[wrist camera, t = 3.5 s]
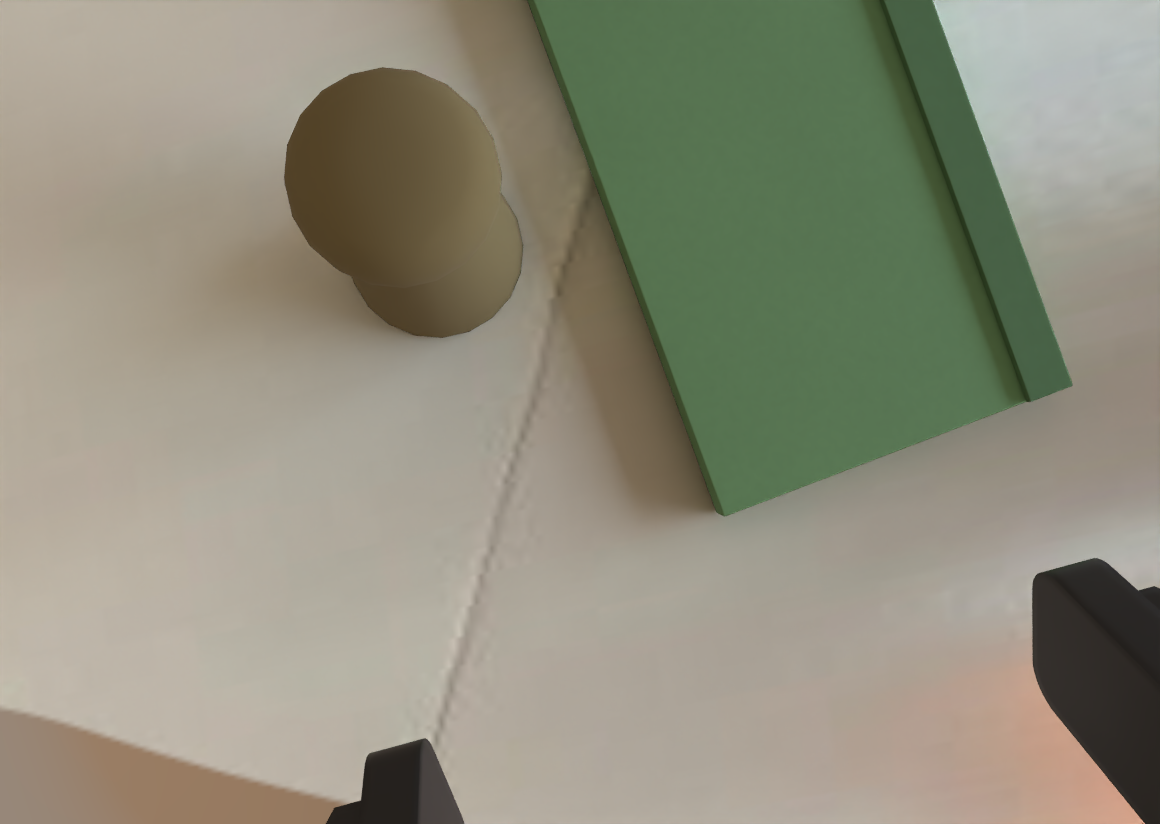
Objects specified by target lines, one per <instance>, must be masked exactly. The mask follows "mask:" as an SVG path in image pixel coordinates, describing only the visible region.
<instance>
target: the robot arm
mask: <svg viewBox="0 0 1160 824" xmlns="http://www.w3.org/2000/svg"><path fill="white" fill-rule="evenodd" d="M1032 624H1033V667H1034V672H1035V676H1036V679H1037V682H1038V684H1039V687H1040V689H1041V691H1042V693H1043V695H1044V697H1045V699H1046V701H1047V703H1048V704H1049V706H1050V707H1051V709H1052V710H1053V711H1054V713H1055V714H1056V715H1057V716H1058V717H1059V719H1060V720H1061V721H1062V722H1063V724H1064V725H1065V726H1066V727H1067V729H1068V730H1069V731H1070V732H1071V733H1072V735H1073V736H1074V737H1075V738H1076V740H1077V741H1078V742H1079V743H1080V744H1081V746H1082V747H1083V748H1084V749H1085V751H1086V752H1087V753H1088V754H1089V755H1090V757H1091V758H1092V759H1093V760H1094V762H1095V763H1096V764H1097V765H1098V767H1099V768H1100V769H1101V770H1102V771H1103V773H1104V774H1105V775H1106V776H1107V778H1108V779H1109V780H1110V781H1111V782H1112V784H1113V785H1114V786H1115V787H1116V789H1117V790H1118V791H1119V792H1120V794H1121V795H1122V796H1123V797H1124V798H1125V800H1126V801H1127V802H1128V803H1129V805H1130V806H1131V807H1132V808H1133V809H1134V811H1135V812H1136V813H1137V814H1138V816H1139V817H1140V818H1141V819H1142V820H1143V822H1144V823H1145V824H1160V588H1157V587H1155V586H1153V587H1150V588H1146V589H1142V590H1139V591H1138V590H1137V589H1136V588H1135V587H1133V586H1132V585H1131V584H1130V583H1129V582H1128V581H1127V580H1126V579H1125V578H1123V577H1122V576H1121V575H1120V574H1119V573H1118V572H1117V571H1116V570H1115V569H1113V568H1112V567H1111V566H1110V565H1109V564H1108V563H1106V562H1105V561H1103V560H1101V559H1097V558H1093V559H1089V560H1086V561H1082V562H1078V563H1075V564H1071V565H1067V566H1064V567H1060V568H1056V569H1053V570H1049V571H1045V572H1042V573H1038V574H1037V575H1036V576H1035V578H1034V580H1033V587H1032ZM326 824H464V821H463V818H462V815H461V813H460V811H459V808H458V806H457V804H456V801H455V799H454V796H453V794H452V792H451V789H450V787H449V785H448V782H447V780H446V778H445V775H444V773H443V771H442V768H441V766H440V764H439V761H438V759H437V757H436V754H435V752H434V750H433V748H432V745H431V744H430V742H429V741H428V740H427V739H426V738H425V739H421V740H417V741H413V742H410V743H406V744H402V745H399V746H395V747H391V748H388V749H384V750H380V751H377V752H373V753H370V754H369V755H368V756H367V758H366V762H365V769H364V778H363V788H362V797H361V801H358V802H354V803H350V804H347V805H343V806H339V807H336V808H334V810H333V812H332V813H331V815H330V817H329V819H328V821H327V823H326Z"/></svg>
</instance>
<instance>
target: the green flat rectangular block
mask: <svg viewBox="0 0 1160 824" xmlns="http://www.w3.org/2000/svg"><path fill="white" fill-rule="evenodd" d="M527 1H528V3H529V6H530V9H531V11H532V14H533V17H534V20H535V22H536V25H537V28H538V30H539V33H540V36H541V38H542V41H543V44H544V47H545V49H546V52H547V55H548V57H549V60H550V63H551V66H552V68H553V71H554V74H555V76H556V79H557V82H558V84H559V87H560V90H561V93H562V95H563V98H564V101H565V103H566V106H567V109H568V111H569V114H570V117H571V120H572V122H573V125H574V128H575V130H576V133H577V136H578V139H579V141H580V144H581V147H582V149H583V152H584V155H585V157H586V160H587V163H588V166H589V168H590V171H591V174H592V176H593V179H594V182H595V185H596V187H597V190H598V193H599V195H600V198H601V201H602V203H603V206H604V209H605V212H606V214H607V217H608V220H609V222H610V225H611V228H612V231H613V233H614V236H615V239H616V241H617V244H618V247H619V249H620V252H621V255H622V258H623V260H624V263H625V266H626V268H627V271H628V274H629V277H630V279H631V282H632V285H633V287H634V290H635V293H636V295H637V298H638V301H639V304H640V306H641V309H642V312H643V314H644V317H645V320H646V323H647V325H648V328H649V331H650V333H651V336H652V339H653V341H654V344H655V347H656V350H657V352H658V355H659V358H660V360H661V363H662V366H663V369H664V371H665V374H666V377H667V379H668V382H669V385H670V387H671V390H672V393H673V396H674V398H675V401H676V404H677V406H678V409H679V412H680V415H681V417H682V420H683V423H684V425H685V428H686V431H687V433H688V436H689V439H690V442H691V444H692V447H693V450H694V452H695V455H696V458H697V460H698V463H699V466H700V469H701V471H702V474H703V477H704V479H705V482H706V485H707V488H708V490H709V493H710V496H711V498H712V501H713V504H714V506H715V509H716V512H717V513H718V514H720V515H722V516H727V515H730V514H733V513H735V512H738V511H740V510H743V509H746V508H748V507H751V506H754V505H756V504H759V503H761V502H764V501H767V500H769V499H772V498H775V497H777V496H780V495H782V494H785V493H788V492H790V491H793V490H796V489H798V488H801V487H803V486H806V485H809V484H811V483H814V482H817V481H819V480H822V479H824V478H827V477H830V476H832V475H835V474H838V473H840V472H843V471H845V470H848V469H851V468H853V467H856V466H859V465H861V464H864V463H866V462H869V461H872V460H874V459H877V458H880V457H882V456H885V455H887V454H890V453H893V452H895V451H898V450H901V449H903V448H906V447H908V446H911V445H914V444H916V443H919V442H922V441H924V440H927V439H929V438H932V437H935V436H937V435H940V434H943V433H945V432H948V431H950V430H953V429H956V428H958V427H961V426H964V425H966V424H969V423H972V422H974V421H977V420H979V419H982V418H985V417H987V416H990V415H993V414H995V413H998V412H1000V411H1003V410H1006V409H1008V408H1011V407H1014V406H1016V405H1019V404H1021V403H1024V402H1031V401H1034V400H1037V399H1039V398H1042V397H1044V396H1047V395H1050V394H1052V393H1055V392H1058V391H1060V390H1063V389H1065V388H1068V387H1071V386H1072V381H1071V378H1070V376H1069V373H1068V370H1067V367H1066V365H1065V362H1064V359H1063V356H1062V354H1061V351H1060V348H1059V346H1058V343H1057V340H1056V337H1055V335H1054V332H1053V329H1052V326H1051V324H1050V321H1049V318H1048V315H1047V313H1046V310H1045V307H1044V304H1043V302H1042V299H1041V296H1040V294H1039V291H1038V288H1037V285H1036V283H1035V280H1034V277H1033V274H1032V272H1031V269H1030V266H1029V263H1028V261H1027V258H1026V255H1025V253H1024V250H1023V247H1022V244H1021V242H1020V239H1019V236H1018V233H1017V231H1016V228H1015V225H1014V222H1013V220H1012V217H1011V214H1010V211H1009V209H1008V206H1007V203H1006V201H1005V198H1004V195H1003V192H1002V190H1001V187H1000V184H999V181H998V179H997V176H996V173H995V170H994V168H993V165H992V162H991V159H990V157H989V154H988V151H987V149H986V146H985V143H984V140H983V138H982V135H981V132H980V129H979V127H978V124H977V121H976V118H975V116H974V113H973V110H972V108H971V105H970V102H969V99H968V97H967V94H966V91H965V88H964V86H963V83H962V80H961V77H960V75H959V72H958V69H957V66H956V64H955V61H954V58H953V56H952V53H951V50H950V47H949V45H948V42H947V39H946V36H945V34H944V31H943V28H942V25H941V23H940V20H939V17H938V14H937V12H936V9H935V6H934V4H933V1H932V0H527Z"/></svg>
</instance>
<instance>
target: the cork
mask: <svg viewBox="0 0 1160 824" xmlns="http://www.w3.org/2000/svg"><path fill="white" fill-rule="evenodd" d="M284 180H285V187H286V191H287V195H288V200H289V204H290V208H291V212H292V217H293V218H294V220H295V222H296V223H297V225H298V227H299V228H300V230H301V232H302V233H303V235H304V237H305V238H306V240H307V242H308V243H309V245H310V246H311V247H312V248H313V249H314V250H315V251H317V252H318V253H319V254H320V255H321V256H322V257H323V258H325V259H326V260H327V261H328V262H329V263H330V264H332V265H333V266H334V267H335V268H336V269H338V270H339V271H341V272H343V273H345V274H347V275H350V276H352V279H353V282H354V284H355V285H356V287H357V289H358V290H359V292H360V294H361V295H362V297H363V299H364V300H365V302H366V303H367V305H368V307H370V308H371V309H372V310H373V311H374V312H375V313H376V314H378V315H379V316H380V317H381V318H382V319H383V320H385V321H386V322H387V323H388V324H389V325H392V326H394V327H396V328H399V329H401V330H403V331H406V332H408V333H410V334H413V335H417V336H428V337H440V338H443V337H447V336H452V335H456V334H461V333H465V332H469V331H471V330H472V329H474V328H476V327H477V326H479V325H481V324H483V323H484V322H486V321H488V320H489V319H491V318H492V317H493V316H494V315H495V314H496V313H497V312H498V311H499V309H500V308H501V307H502V306H503V305H504V304H505V303H506V301H507V300H508V299H509V298H510V296H511V294H512V292H513V289H514V287H515V285H516V282H517V280H518V278H519V275H520V273H521V264H522V252H523V243H522V238H521V234H520V230H519V226H518V221H517V218H516V216H515V215H514V213H513V211H512V210H511V208H510V206H509V205H508V203H507V201H506V200H505V198H504V196H503V195H502V194H501V192H500V191H501V180H502V176H501V169H500V164H499V160H498V156H497V151H496V147H495V143H494V139H493V137H492V135H491V134H490V132H489V130H488V129H487V127H486V125H485V124H484V122H483V120H482V119H481V117H480V115H479V114H478V112H477V110H476V109H474V108H473V107H472V106H471V105H470V104H469V103H468V102H466V101H465V100H464V99H463V98H462V97H461V96H460V95H459V94H457V93H456V92H455V91H454V90H453V89H452V88H450V87H449V86H448V85H446V84H444V83H442V82H440V81H438V80H435V79H433V78H431V77H428V76H426V75H424V74H422V73H419V72H417V71H412V70H402V69H393V68H378V69H373V70H368V71H364V72H359V73H354V74H350V75H348V76H347V77H345V78H343V79H341V80H340V81H338V82H336V83H334V84H333V85H331V86H329V87H328V88H326V89H324V90H322V91H321V92H320V94H319V95H318V96H317V97H316V98H315V99H314V100H313V101H312V102H311V104H310V105H309V106H308V107H307V108H306V109H305V110H304V111H303V112H302V114H301V115H300V117H299V119H298V121H297V124H296V126H295V128H294V130H293V133H292V135H291V137H290V140H289V142H288V144H287V152H286V163H285V174H284Z"/></svg>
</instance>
